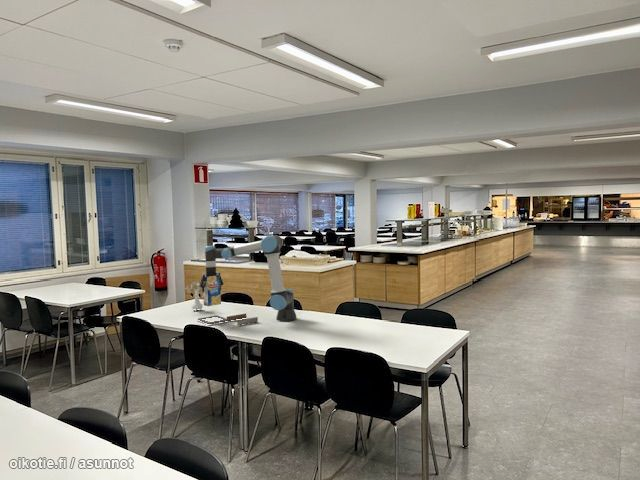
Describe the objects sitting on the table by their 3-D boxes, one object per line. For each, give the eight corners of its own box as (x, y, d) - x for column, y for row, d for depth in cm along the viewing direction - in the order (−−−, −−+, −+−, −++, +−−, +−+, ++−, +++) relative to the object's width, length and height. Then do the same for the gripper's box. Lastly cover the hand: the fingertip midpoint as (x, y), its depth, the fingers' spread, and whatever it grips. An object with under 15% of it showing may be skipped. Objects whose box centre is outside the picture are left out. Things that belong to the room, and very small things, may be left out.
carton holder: (257, 322, 344) (257, 317, 343) (238, 326, 334) (238, 320, 334) (245, 318, 358) (245, 313, 358) (226, 321, 348) (226, 316, 348)
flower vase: (183, 312, 389) (182, 282, 388) (198, 308, 406) (197, 279, 405) (195, 313, 384) (194, 283, 382) (210, 309, 400) (209, 280, 399)
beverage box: (203, 305, 349) (202, 276, 348) (216, 302, 357) (215, 274, 356) (208, 306, 344) (207, 276, 343) (221, 304, 352) (220, 275, 351)
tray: (228, 321, 348) (228, 319, 348) (208, 325, 338) (208, 322, 338) (217, 317, 364) (217, 315, 364) (197, 321, 354) (197, 318, 354)
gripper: (222, 264, 359) (224, 292, 360) (193, 267, 345) (195, 296, 346) (227, 265, 353) (228, 294, 354) (198, 268, 339) (199, 298, 340)
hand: (212, 295), depth 350 cm, fingers closed on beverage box, 11 cm apart
